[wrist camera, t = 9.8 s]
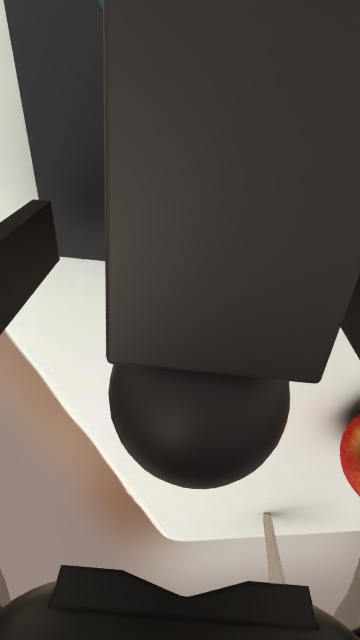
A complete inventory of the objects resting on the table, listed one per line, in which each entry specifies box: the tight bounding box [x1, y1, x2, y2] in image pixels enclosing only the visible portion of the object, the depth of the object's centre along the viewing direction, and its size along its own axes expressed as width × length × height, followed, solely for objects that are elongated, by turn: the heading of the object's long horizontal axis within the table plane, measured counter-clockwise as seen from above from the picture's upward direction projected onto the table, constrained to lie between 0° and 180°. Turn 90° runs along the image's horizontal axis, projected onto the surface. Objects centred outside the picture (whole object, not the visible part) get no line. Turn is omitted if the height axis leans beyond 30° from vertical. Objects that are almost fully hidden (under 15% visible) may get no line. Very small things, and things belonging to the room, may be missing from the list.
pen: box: [263, 513, 286, 584], centre depth 32 cm, size 2×3×14 cm
